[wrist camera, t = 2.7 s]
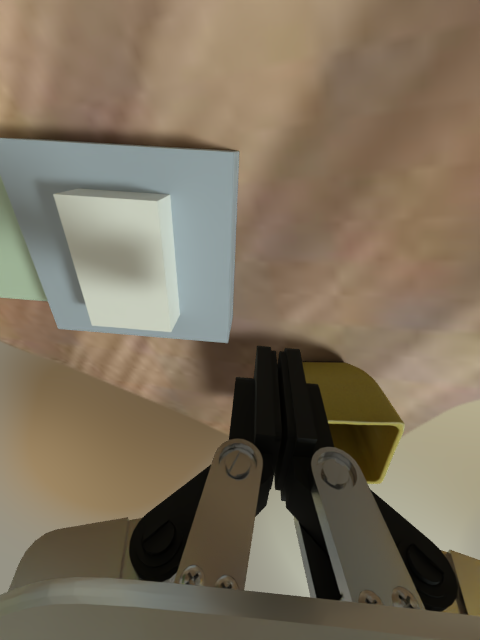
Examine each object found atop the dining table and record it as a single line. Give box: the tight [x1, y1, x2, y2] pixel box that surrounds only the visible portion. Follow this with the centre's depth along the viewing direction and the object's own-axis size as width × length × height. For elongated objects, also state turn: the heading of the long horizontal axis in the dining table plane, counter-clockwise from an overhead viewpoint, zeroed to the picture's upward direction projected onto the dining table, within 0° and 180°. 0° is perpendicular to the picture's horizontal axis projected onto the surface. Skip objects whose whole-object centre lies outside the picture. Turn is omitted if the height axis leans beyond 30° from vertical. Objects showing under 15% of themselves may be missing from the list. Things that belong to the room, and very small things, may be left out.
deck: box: [0, 138, 239, 343], centre depth 22 cm, size 14×15×4 cm
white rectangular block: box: [53, 188, 180, 332], centre depth 19 cm, size 9×6×2 cm, turn 177°
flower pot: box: [302, 362, 405, 484], centre depth 26 cm, size 9×9×9 cm
